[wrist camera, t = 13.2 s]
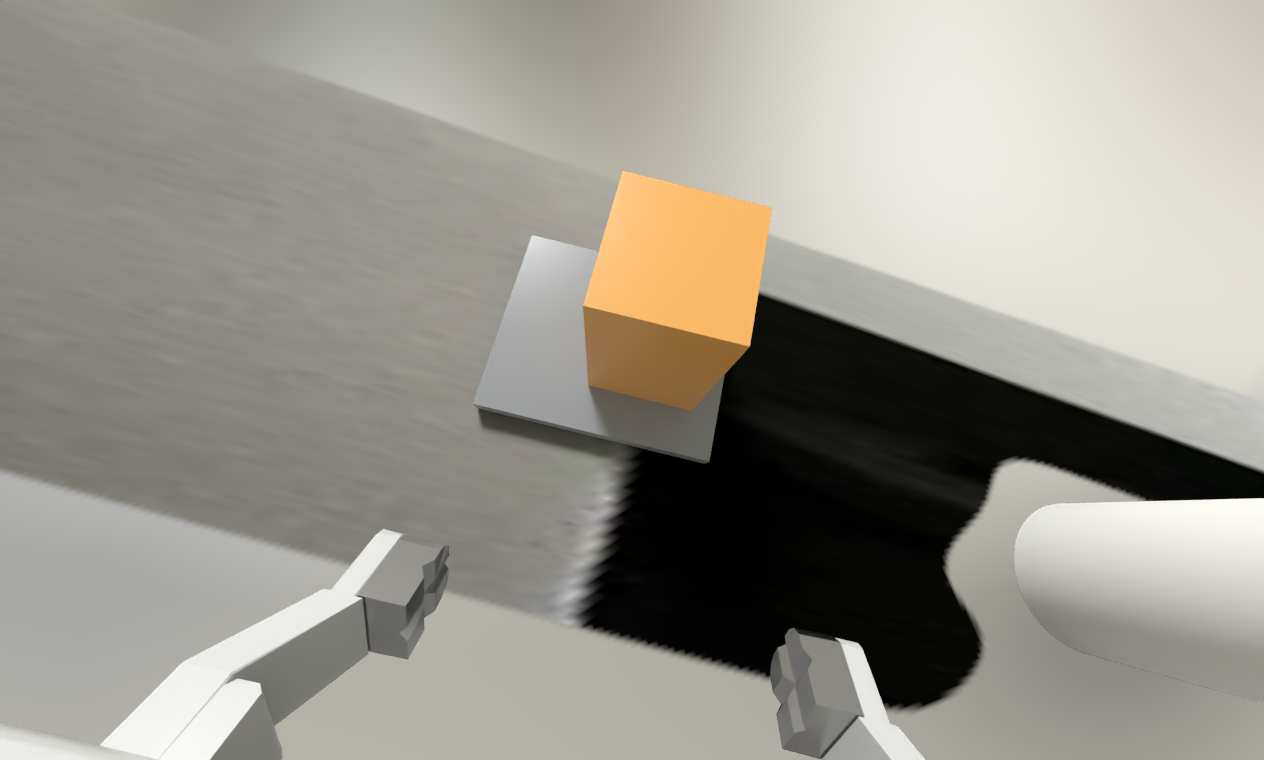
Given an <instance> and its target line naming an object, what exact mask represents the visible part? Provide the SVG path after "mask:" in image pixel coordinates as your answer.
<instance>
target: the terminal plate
mask: <svg viewBox="0 0 1264 760" xmlns="http://www.w3.org/2000/svg"><path fill="white" fill-rule="evenodd" d="M598 253H599V252H598V251H594V250H590V249H586V248H582V247H578V246H574V245H570V244H566V243H562V242H558V241H554V240H550V239H546V238H542V237H537V236H533V235H532V237H531V240H530V243H529V245H528V248H527V251H526V254H525V257H524V260H523V262H522V265H521V268H520V271H519V274H518V276H517V279H516V282H515V285H514V288H513V291H512V293H511V296H510V299H509V302H508V305H507V307H506V310H505V313H504V316H503V319H502V322H501V324H500V327H499V330H498V333H497V336H496V338H495V341H494V344H493V347H492V350H491V353H490V355H489V358H488V361H487V364H486V367H485V370H484V372H483V375H482V378H481V381H480V384H479V386H478V389H477V392H476V395H475V398H474V401H473V403H472V404H473V405H474V406H476V407H477V408H478V409H482V410H487V411H491V412H495V413H499V414H503V415H507V416H511V417H515V418H519V419H523V420H527V421H532V422H536V423H540V424H544V425H548V426H552V427H556V428H560V429H564V430H568V431H572V432H577V433H581V434H585V435H589V436H593V437H597V438H601V439H605V440H609V441H613V442H617V443H622V444H626V445H630V446H634V447H638V448H642V449H646V450H650V451H654V452H658V453H662V454H667V455H671V456H675V457H679V458H683V459H687V460H691V461H695V462H699V463H703V464H705V463H707V462H709V460H710V455H711V449H712V443H713V438H714V432H715V426H716V421H717V415H718V409H719V403H720V398H721V392H722V386H723V381H724V375H725V374H724V375H723V377H722V378H721V379H720V380H719V381H718V382H717V383H716V384H715V385H714V386H713V388H712V389H711V390H710V391H709V392H708V393H707V394H706V395H705V396H704V397H703V399H702V400H701V401H700V402H699V403H698V404H697V405H696V406H695V407H694V408H693V410H692V411H690V410H686V409H682V408H678V407H674V406H669V405H665V404H661V403H657V402H653V401H649V400H645V399H641V398H637V397H633V396H629V395H624V394H620V393H616V392H612V391H608V390H604V389H600V388H596V387H592V386H588V376H587V361H586V345H585V329H584V314H583V304H584V300H585V297H586V294H587V290H588V287H589V283H590V280H591V277H592V273H593V270H594V266H595V263H596V260H597V256H598Z"/></svg>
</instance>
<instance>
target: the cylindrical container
mask: <svg viewBox="0 0 1264 760" xmlns="http://www.w3.org/2000/svg"><path fill="white" fill-rule="evenodd" d="M1014 566H1015V573H1016V577H1017V581H1018V585H1019V588H1020V590H1021V593H1022V595H1023V598H1024V600H1025V601H1026V603H1027V605H1028V607H1029V609H1030V610H1031V612H1032V613H1033V615H1034V616H1035V617H1036V618H1037V620H1038V621H1039V622H1040V624H1041V625H1042V626H1043V627H1044V628H1045V629H1046V630H1047V631H1048V632H1049V633H1050V634H1052V635H1053V636H1054V637H1055V638H1056V639H1058V640H1060V641H1061V642H1062V643H1064V644H1065V645H1067V646H1068V647H1071V648H1073V649H1075V650H1078V651H1080V652H1082V653H1086V654H1089V655H1093V656H1096V657H1100V658H1104V659H1107V660H1110V661H1114V662H1117V663H1121V664H1125V665H1128V666H1132V667H1135V668H1139V669H1142V670H1146V671H1149V672H1153V673H1156V674H1160V675H1163V676H1167V677H1171V678H1174V679H1178V680H1181V681H1185V682H1188V683H1192V684H1196V685H1199V686H1203V687H1206V688H1210V689H1213V690H1217V691H1221V692H1224V693H1227V694H1231V695H1234V696H1238V697H1242V698H1245V699H1249V700H1252V701H1256V702H1259V703H1263V704H1264V498H1260V499H1220V500H1181V501H1143V502H1109V503H1108V502H1107V503H1069V504H1068V503H1067V504H1052V505H1049V506H1044V507H1042V508H1040V509H1038V510H1037V511H1035V512H1034V513H1033V514H1031V515H1030V516H1029V517H1028V518H1027V519H1026V520H1025V522H1024V523H1023V525H1022V526H1021V528H1020V530H1019V533H1018V535H1017V538H1016V541H1015V549H1014Z"/></svg>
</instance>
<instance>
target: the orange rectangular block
mask: <svg viewBox="0 0 1264 760" xmlns="http://www.w3.org/2000/svg"><path fill="white" fill-rule="evenodd" d="M771 211H772V208H771V207H768V206H763V205H759V204H755V203H751V202H747V201H743V200H739V199H735V198H731V197H727V196H723V195H719V194H715V193H711V192H707V191H703V190H699V189H694V188H691V187H687V186H682V185H678V184H675V183H670V182H666V181H662V180H658V179H654V178H650V177H646V176H642V175H638V174H634V173H630V172H626V171H623V172H622V175H621V178H620V182H619V185H618V189H617V192H616V195H615V199H614V202H613V205H612V209H611V212H610V216H609V219H608V222H607V226H606V229H605V233H604V236H603V239H602V243H601V246H600V250H599V253H598V256H597V260H596V263H595V266H594V270H593V273H592V277H591V280H590V283H589V287H588V290H587V294H586V297H585V300H584V304H583V314H584V329H585V345H586V361H587V376H588V386H592V387H596V388H600V389H604V390H608V391H612V392H616V393H620V394H624V395H629V396H633V397H637V398H641V399H645V400H649V401H653V402H657V403H661V404H665V405H669V406H674V407H678V408H682V409H686V410H690V411H692V410H693V408H694V407H695V406H696V405H697V404H698V403H699V402H700V401H701V400H702V399H703V397H704V396H705V395H706V394H707V393H708V392H709V391H710V390H711V389H712V388H713V386H714V385H715V384H716V383H717V382H718V381H719V380H720V379H721V378H722V377H723V375H724V374H725V373H726V372H727V371H728V370H729V369H730V368H731V367H732V366H733V364H734V363H735V362H736V361H737V360H738V359H739V358H740V357H741V356H742V354H743V353H744V352H745V351H746V350H747V349H748V348H749V347H750V342H751V336H752V329H753V323H754V317H755V311H756V304H757V298H758V292H759V286H760V280H761V273H762V267H763V261H764V255H765V248H766V242H767V236H768V228H769V223H770V217H771Z"/></svg>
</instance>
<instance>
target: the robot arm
mask: <svg viewBox="0 0 1264 760" xmlns="http://www.w3.org/2000/svg"><path fill="white" fill-rule="evenodd" d="M448 556H449V546H447V545H443V544H439V543H435V542H432V541H428V540H424V539H420V538H416V537H413V536H409V535H406V534H402V533H397V532H393V531H389V530H385V529H383V530H382V531H380V532H379V533H378V534H376V535H375V536H374V538H373V539H372V540H371V541H370V542H369V544H368V545H367V546H366V547H365V549H364V550H363V551H362V552H361V553H360V555H359V556H358V557H357V558H356V560H355V561H354V562H353V563H352V564H351V566H350V567H349V568H348V569H347V571H346V572H345V573H344V574H343V576H342V577H341V578H340V579H339V580H338V581H337V583H336V584H335V585H334V586H333V588H332V589H331V590H328V589H322V590H320V591H318V592H316V593H315V594H312V595H311V596H309V597H307V598H305V599H303V600H301V601H299V602H297V603H295V604H293V605H292V606H289V607H288V608H286V609H284V610H282V611H280V612H278V613H276V614H274V615H272V616H271V617H268V618H267V619H265V620H263V621H261V622H259V623H257V624H255V625H253V626H251V627H249V628H247V629H245V630H243V631H242V632H240V633H238V634H236V635H234V636H232V637H230V638H228V639H226V640H224V641H222V642H221V643H218V644H216V645H215V646H213V647H211V648H209V649H207V650H205V651H203V652H201V653H199V654H197V655H195V656H193V657H192V658H190V659H188V660H186V661H184V662H182V663H181V664H180V665H179V666H178V667H177V668H176V669H175V670H174V671H173V672H172V673H171V674H170V675H169V676H168V677H167V678H166V679H165V681H163V682H162V683H161V684H160V685H159V686H158V687H157V688H156V689H155V690H154V691H153V692H152V693H151V694H150V695H149V696H148V698H146V699H145V700H144V701H143V702H142V703H141V704H140V705H139V706H138V707H137V708H136V709H135V710H134V711H133V712H132V713H131V714H130V716H129V717H127V719H125V721H123V722H122V724H121V725H119V726H118V727H117V728H116V730H114V731H113V732H112V734H111V735H109V737H107V739H105V740H104V741H103V743H102V744H101V745H96V744H91V743H87V742H83V741H79V740H74V739H70V738H66V737H62V736H58V735H53V734H49V733H45V732H41V731H36V730H32V729H28V728H23V727H19V726H15V725H11V724H6V723H2V722H0V760H282V748H281V745H280V742H279V739H278V736H277V733H276V730H275V727H274V726H275V725H276V724H277V723H279V722H280V721H281V720H283V719H284V718H285V717H287V716H288V715H289V714H291V713H292V712H293V711H295V710H296V709H297V708H298V707H300V706H301V705H302V704H304V703H305V702H306V701H308V700H309V699H310V698H312V697H313V696H314V695H316V694H317V693H318V692H319V691H321V690H322V689H323V688H325V687H326V686H327V685H329V684H330V683H331V682H333V681H334V680H335V679H336V678H338V677H339V676H340V675H342V674H343V673H344V672H345V671H347V670H348V669H350V668H351V667H352V666H353V665H355V664H356V663H357V662H359V661H360V660H361V659H363V658H364V657H365V656H367V655H368V651H370V652H375V653H379V654H384V655H389V656H394V657H399V658H403V659H408V658H409V656H410V654H411V653H412V651H413V649H414V647H415V646H416V644H417V642H418V640H419V638H420V637H421V635H422V633H423V631H424V618H425V617H426V616H428V615H429V614H431V613H432V612H434V611H435V609H436V607H437V605H438V604H439V602H440V600H441V598H442V595H443V592H444V590H445V587H446V584H447V579H448V568H447V566H446V565H445V564H444V563H445V562H446V560H447V558H448ZM785 640H786V644H785V645H783V646H781V647H778V648H777V650H776V652H775V654H774V655H773V658H772V664H771V684H772V690H773V693H774V695H775V696H776V697H777V699H778V700H779V702H780V703H781V706H780V708H779V710H778V712H777V714H776V715H777V720H778V726H779V732H780V738H781V744H782V749H785V750H789V751H792V752H796V753H800V754H804V755H807V756H811V757H814V758H818V759H822V760H925V759H924V758H923V757H922V755H921V754H920V753H919V752H918V750H917V749H916V748H915V747H914V746H913V745H912V743H911V742H910V741H909V740H908V738H907V737H906V736H905V735H904V734H903V732H902V731H901V730H900V729H899V728H898V726H896V725H892V724H890V722H889V719H888V717H887V714H886V711H885V708H884V706H883V703H882V700H881V698H880V695H879V692H878V689H877V687H876V684H875V681H874V679H873V676H872V673H871V671H870V668H869V665H868V662H867V660H866V657H865V654H864V652H863V649H862V648H861V646H860V645H859V644H858V643H855V642H852V641H847V640H843V639H838V638H834V637H833V636H828V635H824V634H819V633H815V632H810V631H806V630H801V629H797V628H792V629H790V630H789V631H788V632H787V634H786V635H785Z"/></svg>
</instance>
